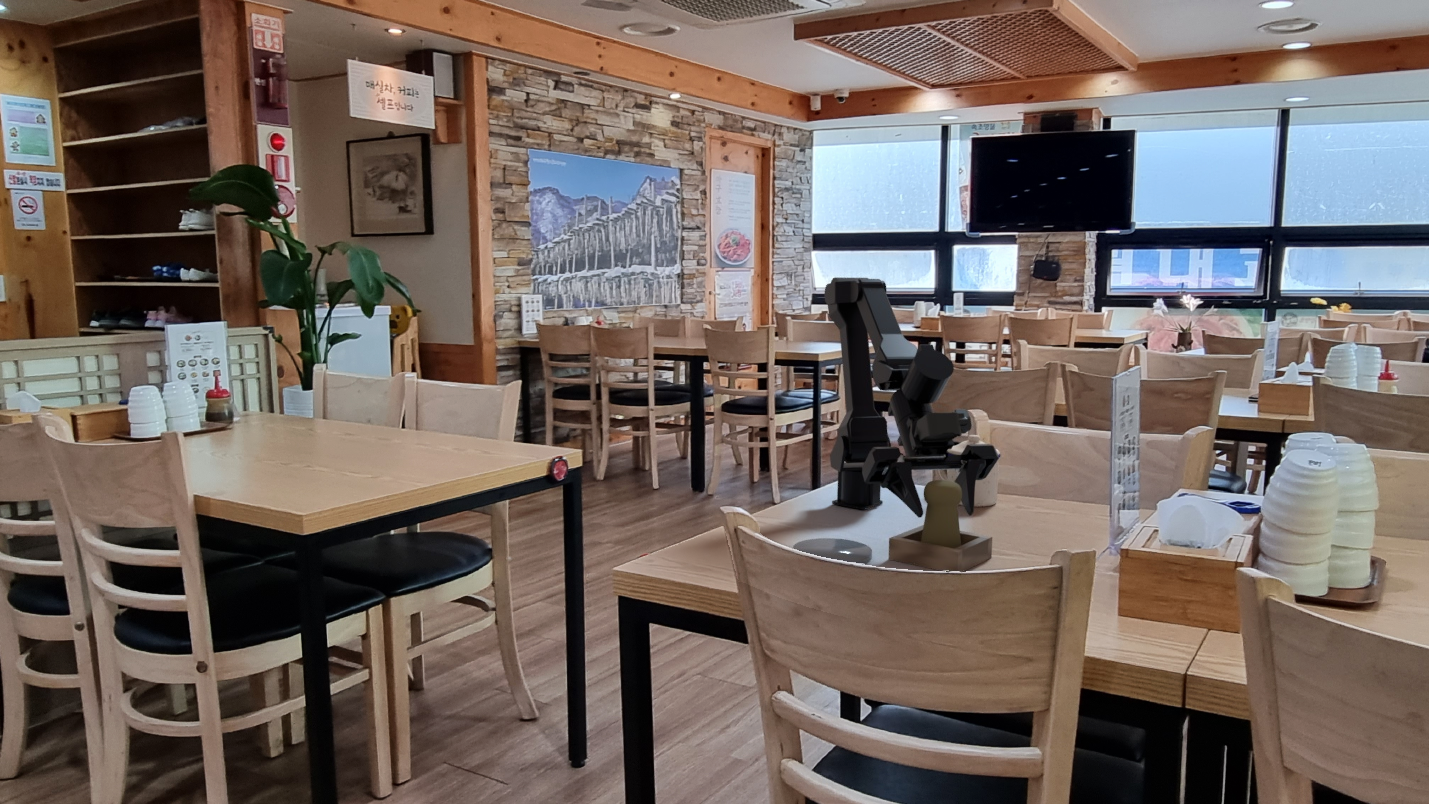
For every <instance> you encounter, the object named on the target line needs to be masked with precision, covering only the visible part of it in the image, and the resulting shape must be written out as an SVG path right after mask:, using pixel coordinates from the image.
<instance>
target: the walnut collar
mask: <svg viewBox="0 0 1429 804" xmlns="http://www.w3.org/2000/svg"><path fill="white" fill-rule="evenodd" d="M923 526H924V524H922V525H920V526H917V527H915V528H912V529H909V530H906V531H904V532H902V533H899V534H897V535H893V536H891V537H889V538H888V560H890V561H896V562H900V563H905V564H909V565H913V566H917V567H922V568H928V569H931V568H932V570H937V571H940V570H949V571H963V570H965V571H967V570H969V569H971V568H973V567H976V566H977V565H979V564H981V563H984V562H986V561H988V560H990V559H992V555H993V554H992V552H993V536H989V535H985V534H979V533H975V532H969V531H965V530H964V531H963V530H960V538H961V546H959V547H957V548H955V549H953V548H948V547H943V546H938V545H933V544H929V543H924V542H921V538H922V532H923ZM963 572H964V571H963Z"/></svg>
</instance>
